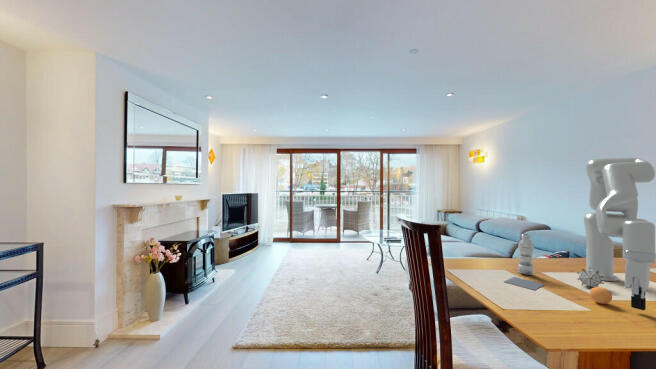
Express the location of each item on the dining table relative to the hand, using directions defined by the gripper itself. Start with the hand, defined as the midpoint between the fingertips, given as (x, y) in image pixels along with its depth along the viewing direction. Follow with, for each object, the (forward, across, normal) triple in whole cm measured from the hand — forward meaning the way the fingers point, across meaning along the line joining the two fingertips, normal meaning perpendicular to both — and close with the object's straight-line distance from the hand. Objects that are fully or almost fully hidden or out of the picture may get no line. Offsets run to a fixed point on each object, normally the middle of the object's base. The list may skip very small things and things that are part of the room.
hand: (638, 308), depth 95 cm
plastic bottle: (+2, -16, -39) cm, 43 cm away
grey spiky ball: (+2, -20, -16) cm, 26 cm away
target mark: (+2, 0, -34) cm, 35 cm away
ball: (-1, 0, -9) cm, 10 cm away
